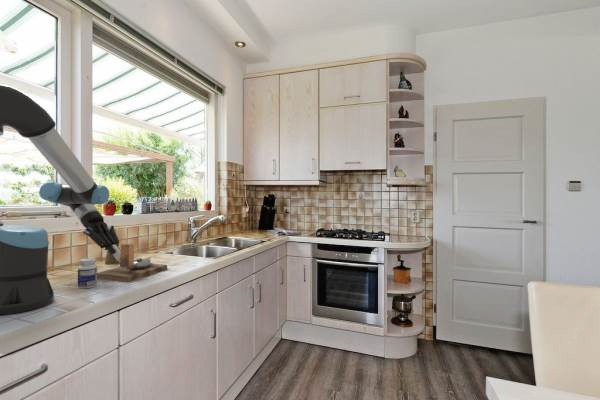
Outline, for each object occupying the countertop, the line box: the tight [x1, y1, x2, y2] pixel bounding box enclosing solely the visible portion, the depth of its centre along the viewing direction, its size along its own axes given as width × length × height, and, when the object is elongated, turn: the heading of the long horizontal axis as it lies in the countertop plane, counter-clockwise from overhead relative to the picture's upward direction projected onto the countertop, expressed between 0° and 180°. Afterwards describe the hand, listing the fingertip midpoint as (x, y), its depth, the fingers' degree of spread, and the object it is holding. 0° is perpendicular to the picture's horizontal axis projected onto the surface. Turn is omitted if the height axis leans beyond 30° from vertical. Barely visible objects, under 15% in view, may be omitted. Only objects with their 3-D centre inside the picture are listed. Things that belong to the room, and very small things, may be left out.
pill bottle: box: [77, 257, 98, 290], centre depth 105 cm, size 6×6×10 cm
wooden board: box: [97, 262, 168, 283], centre depth 124 cm, size 22×16×2 cm
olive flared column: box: [104, 242, 120, 266], centre depth 141 cm, size 6×6×11 cm
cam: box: [119, 242, 152, 269], centre depth 126 cm, size 20×9×12 cm, turn 0°
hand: (120, 258), depth 119 cm, fingers closed
